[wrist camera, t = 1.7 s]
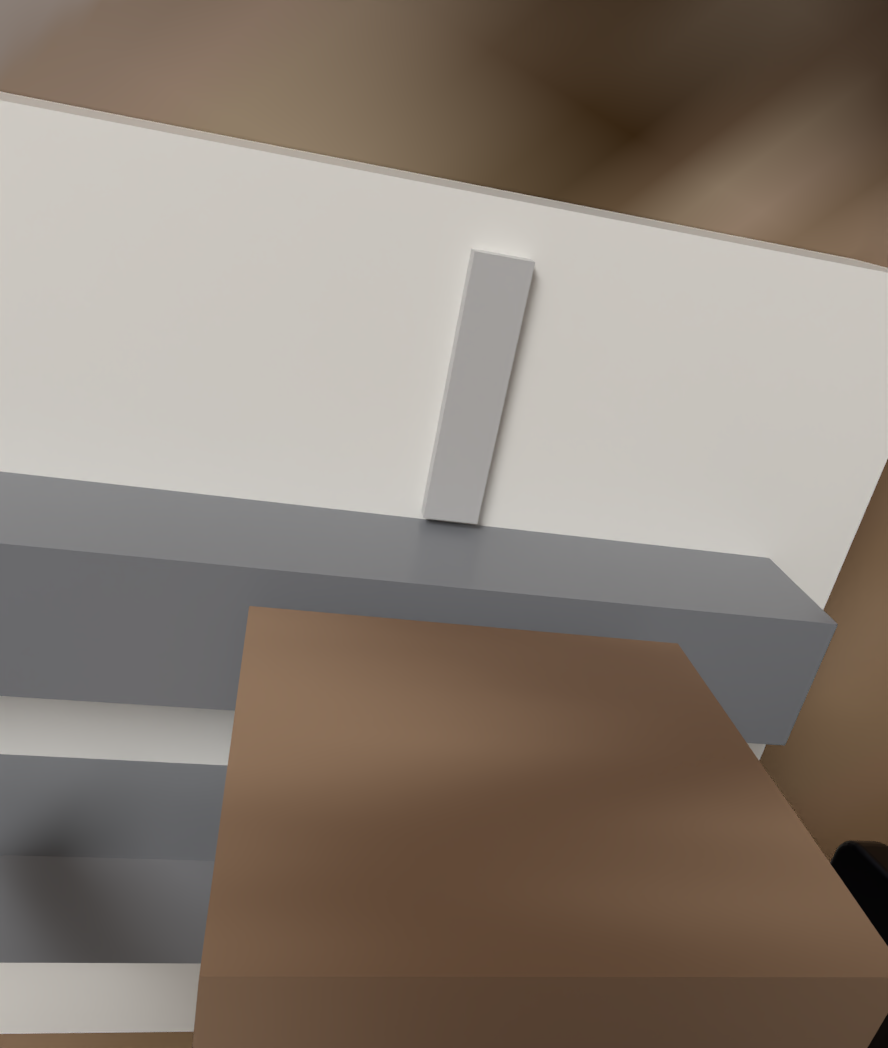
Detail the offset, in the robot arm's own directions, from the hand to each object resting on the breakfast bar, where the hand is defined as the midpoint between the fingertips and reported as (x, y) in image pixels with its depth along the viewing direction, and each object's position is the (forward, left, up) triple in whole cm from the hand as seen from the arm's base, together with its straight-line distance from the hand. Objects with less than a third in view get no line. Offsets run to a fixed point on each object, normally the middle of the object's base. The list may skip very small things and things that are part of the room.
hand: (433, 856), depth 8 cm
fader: (0, 0, -2) cm, 2 cm away
